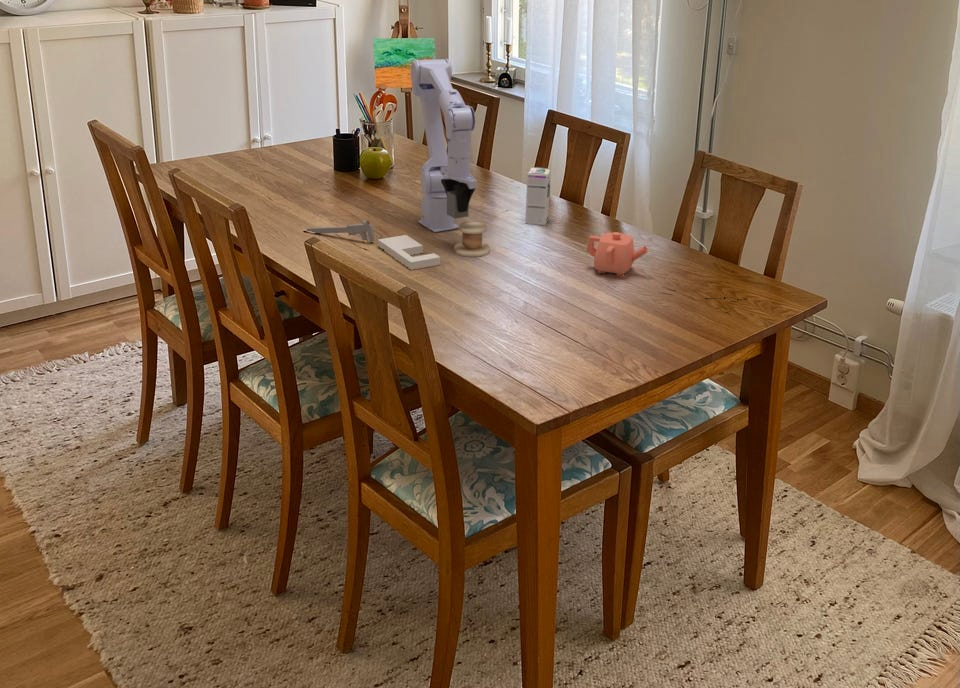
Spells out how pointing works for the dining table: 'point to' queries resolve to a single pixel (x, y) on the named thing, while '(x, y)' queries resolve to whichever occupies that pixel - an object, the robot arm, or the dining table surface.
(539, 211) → the syrup box
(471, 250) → the bobbin
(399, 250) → the notched board
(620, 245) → the teapot
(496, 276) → the dining table surface
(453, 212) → the block
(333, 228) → the caliper
